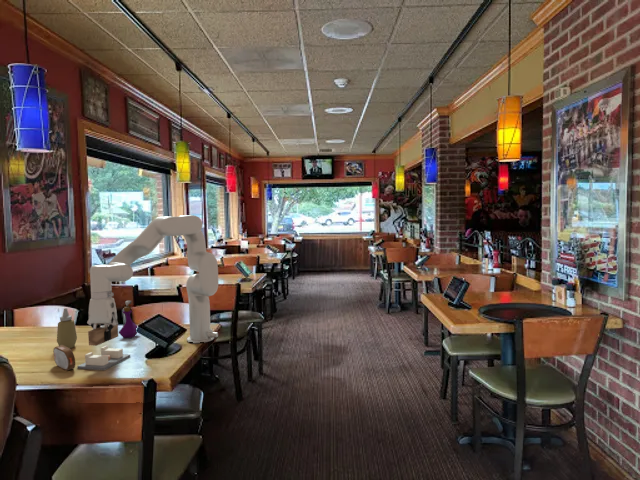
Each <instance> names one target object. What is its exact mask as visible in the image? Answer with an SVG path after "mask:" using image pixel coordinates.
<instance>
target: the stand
mask: <svg viewBox="0 0 640 480" xmlns="http://www.w3.org/2000/svg"><path fill="white" fill-rule="evenodd" d="M123 351H124V350H123V348H111V347H109V346H108V345H104V346H102V347H100V354H94V353H93V352H92V351H91V352H88V353H85V355H84V359H85V361H84V363H81V364H79V365H77V367H76V368H77V369H79V370H94V371H106V370H107V369H109V368H112V367H114V366H115V365H117V364H119V363H122V362H123V361H125V360H127V359H129V358H131V354H125V353H124V352H123Z"/></svg>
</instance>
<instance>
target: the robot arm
mask: <svg viewBox="0 0 640 480" xmlns="http://www.w3.org/2000/svg"><path fill="white" fill-rule="evenodd" d="M202 229H203V222H202V219H201V218H200V217H199V216H197V215H194V214H193V215H188V214H187V215H182V214H181V215H179V216H158V217H156V218H153V219H152V220H151V222H150V223H149V224H148V225H147V226H146V227H145V228H144V230H142V232H141V233H140V234H139V235H138V236H137V237H136V238H135V239H134V240H133V241H131V242H130V243H129V244H128V245H127V246H125V247H124V248H122V249H121V250H120V251H119V252H118V253H117V254H116V255H115V256H114V257H113V258H112V259H111V260H110V261H109V262H108V264H95V265H92V266H90V269H89V275H90V278H89V279H90V299H89V304H88V320H87V322H86V323H87V324H88V325H89V326H90V327H91V328H92V330H94V329H96V328H99V327H102V325H103V326H104V325H105V332H104V340H105V341H106V342H109V341H111V340H112V339H111V330H112V328H113V327H114V326H116V325H117V324H118V325H119V322H118V313H117V307H116V302H115V298H114V296H115V295H114V292H112V291H113V289H112V282H127V281H129V280H131V278H132V277H133V276H134V269H133V267H131V265H132V264H133V263H135V262H136V261H138V260H139V259H141V258H143V257H146V256H148V255H149V254H151V253H152V252H153V251H154V250H155V249H156V248H157V247H158V245H159V244H160V243H161V242H162V241H163V240H164V238H165V237H178V236H179V237H180V236H182V237H183V238H184V240H185V242H186V243H185V244H186V251H187V265H188V267H189V269H190V270H191V271H195V272H198V273H194V274H192V275H190V276H189V277H188V278H187V281H186V293H187V298H188V318H189V336H188V337H187V338H186V342H187V341H188V342H187V343H189V342H193V343H192V344H201V343H200V342H204V343H208V342H211V341H213V340H214V339H215V338H218V337H219V333H218V332H219V331H217V332H215V331H213V328H211V306H210V305H211V304H210V297H211V296H214V295H215V294H216V293H217V291H218V290H219V289H218V288H219V267H218V266H219V265H218V260H217V258H216V256H215V255H214V254H213V253H211V252H209V251H207V246H206V239H205V235H204V233H203V231H202ZM108 326H109V327H108ZM108 340H109V341H108Z"/></svg>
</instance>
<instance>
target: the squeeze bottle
mask: <svg viewBox="0 0 640 480" xmlns="http://www.w3.org/2000/svg"><path fill="white" fill-rule="evenodd" d="M72 317H73V316H72V315H70V314H69V311H68V308H63V311H62V316H60V317H59V322H57V330H56V331H57V333H56V343H57V346H60V345H63V346H65V347H68V348H70V349H72V348H75V345H76V343H77V340H78V336H77V330H76V325H75V323H76V322H75V321H74V320H73V318H72Z"/></svg>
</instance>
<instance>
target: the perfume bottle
mask: <svg viewBox="0 0 640 480" xmlns="http://www.w3.org/2000/svg"><path fill="white" fill-rule="evenodd" d="M124 303H125V305H126V307H123V311H122V313H123V314H124V315H125V323H124V325H123V326H122V327H121V329H120V330H118V335H120V336H121V337H123V339H133V338H134V337H136V336H137V334H138V333H137V332H136V328H137V326H138V325H137V324H136V323H135V322H133V320H132V318H131V313H133V311H132V310H131V308H130V307H129V305H131V304H132V300H126V301H125V302H124ZM135 335H136V336H135ZM132 337H133V338H132Z"/></svg>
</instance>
